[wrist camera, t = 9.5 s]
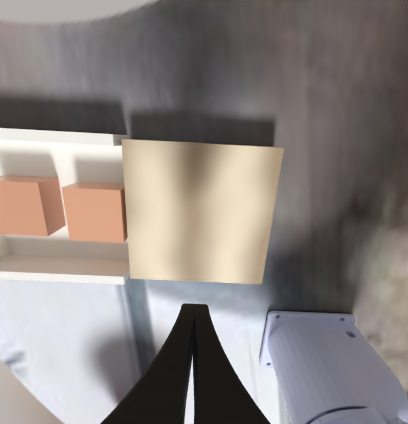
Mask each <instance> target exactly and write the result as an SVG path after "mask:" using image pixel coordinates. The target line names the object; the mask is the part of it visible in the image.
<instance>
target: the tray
mask: <svg viewBox="0 0 408 424" xmlns="http://www.w3.org/2000/svg"><path fill="white" fill-rule="evenodd" d="M121 139H127V135H117V134H99V133H81V132H63V131H45V130H27V129H9V128H0V176H3V175H19V176H38V177H58V178H59V184H60V190H61V197H62V203H63V209H64V215H65V222H66V226H64V227H63V228H61V229H59V230H58V231H56V232H54V233H53V234H51V235H50V236H48V237H47V236H26V235H4V234H0V279H8V280H31V281H54V282H77V283H100V284H123V285H124V284H125V282H126V280H127V279H128V277H129V275H130V265H129V250H128V238H127V240H126V241H125V242H124V243H116V242H94V241H73V240H70V238H69V232H68V226H67V219H66V213H65V207H64V200H63V194H62V188H61V187H64V186H67V185H70V184H73V183H76V182H99V183H118V184H124V172H123V157H122V141H121Z"/></svg>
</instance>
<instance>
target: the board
mask: <svg viewBox="0 0 408 424" xmlns="http://www.w3.org/2000/svg"><path fill="white" fill-rule="evenodd" d="M121 141H122V157H123V172H124V188H125V203H126V219H127V234H128V250H129V265H130V278H132V279H154V280H177V281H200V282H223V283H246V284H262V280H263V274H264V268H265V262H266V256H267V250H268V243H269V237H270V231H271V225H272V219H273V212H274V206H275V200H276V194H277V188H278V182H279V175H280V169H281V163H282V157H283V151H284V148H280V147H267V146H249V145H231V144H212V143H194V142H176V141H158V140H139V139H121Z"/></svg>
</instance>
